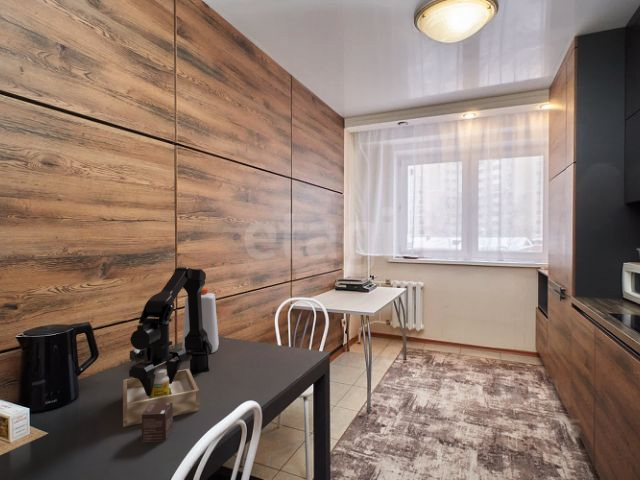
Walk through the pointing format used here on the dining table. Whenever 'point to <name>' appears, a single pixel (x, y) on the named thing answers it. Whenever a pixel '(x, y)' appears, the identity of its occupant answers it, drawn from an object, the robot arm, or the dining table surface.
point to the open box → (180, 395)
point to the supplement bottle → (160, 384)
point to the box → (157, 422)
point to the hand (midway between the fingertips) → (159, 389)
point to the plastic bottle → (204, 319)
